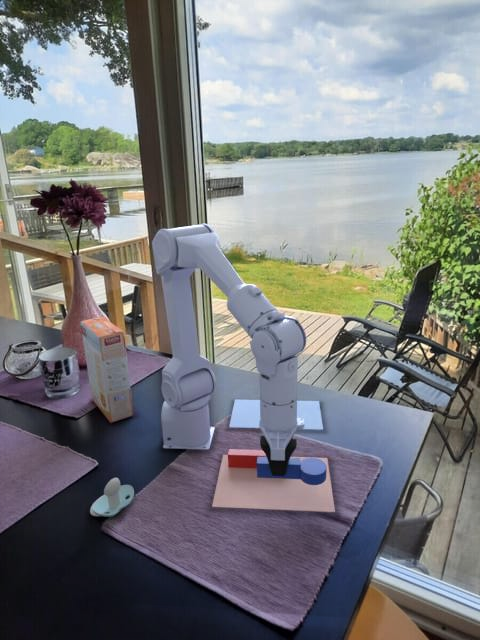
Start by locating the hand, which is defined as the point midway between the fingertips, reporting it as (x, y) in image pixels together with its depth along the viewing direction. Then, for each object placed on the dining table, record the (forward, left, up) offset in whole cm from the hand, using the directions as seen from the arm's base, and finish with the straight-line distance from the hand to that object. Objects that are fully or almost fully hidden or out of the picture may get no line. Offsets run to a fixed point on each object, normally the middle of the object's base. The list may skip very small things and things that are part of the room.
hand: (278, 469), depth 72 cm
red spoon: (-4, +8, -6) cm, 11 cm away
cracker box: (-40, +29, -7) cm, 50 cm away
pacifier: (-28, -3, -7) cm, 29 cm away
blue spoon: (+2, 0, -1) cm, 2 cm away
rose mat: (-1, +4, -6) cm, 8 cm away
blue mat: (-1, +27, -6) cm, 28 cm away
